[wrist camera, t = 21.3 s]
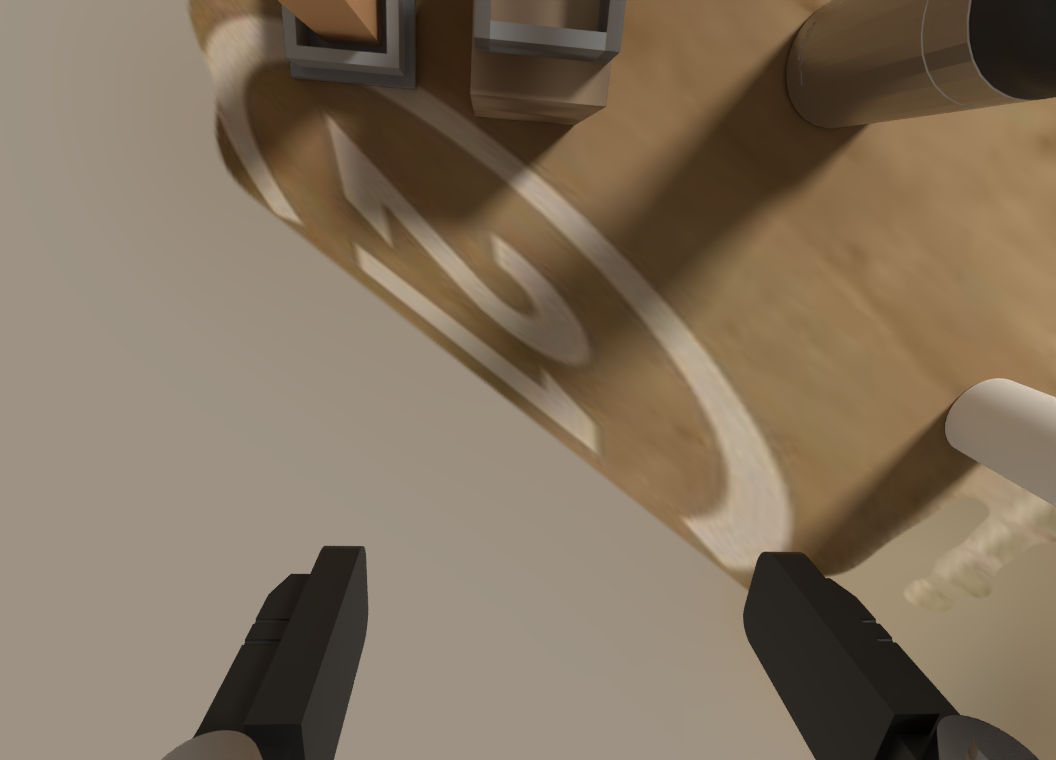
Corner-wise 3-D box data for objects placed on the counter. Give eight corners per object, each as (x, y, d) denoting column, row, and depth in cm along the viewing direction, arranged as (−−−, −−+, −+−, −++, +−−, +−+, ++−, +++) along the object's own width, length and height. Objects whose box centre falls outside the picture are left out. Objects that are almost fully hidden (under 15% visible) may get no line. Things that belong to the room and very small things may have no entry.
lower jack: (416, -54, 38) (408, -79, 34) (416, 89, 41) (409, 80, 37) (284, -69, 37) (261, -97, 33) (295, 78, 40) (275, 68, 36)
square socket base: (591, -58, 38) (652, -194, 24) (574, 125, 42) (618, 99, 28) (480, -72, 37) (477, -220, 24) (474, 116, 42) (468, 85, 28)
